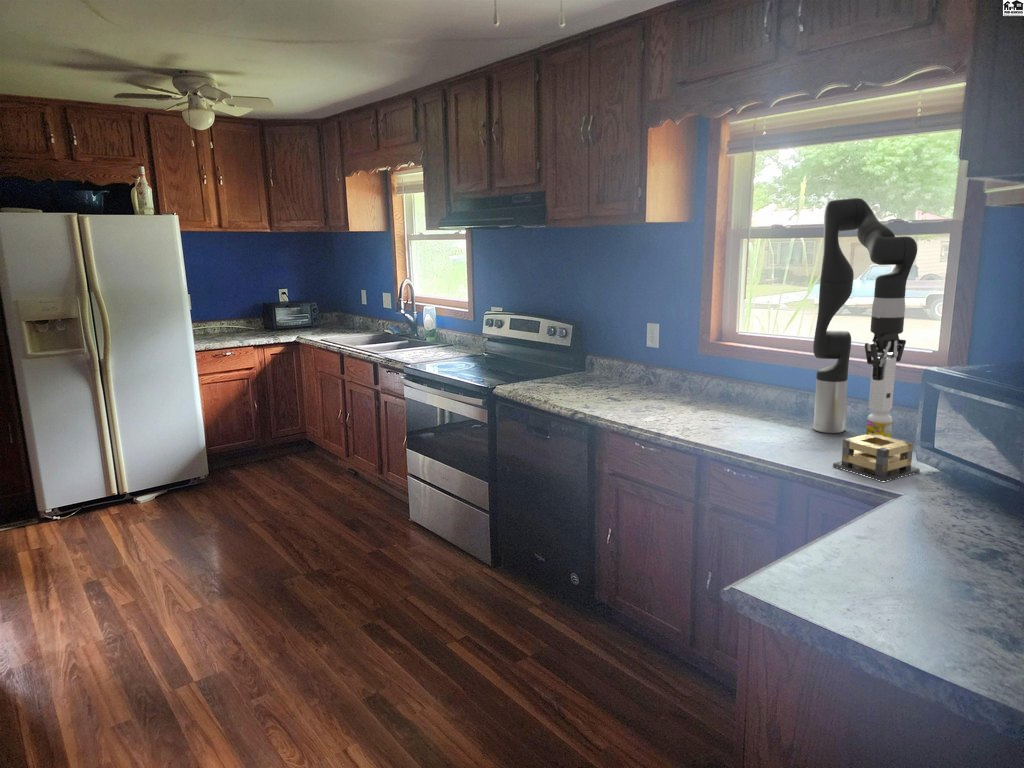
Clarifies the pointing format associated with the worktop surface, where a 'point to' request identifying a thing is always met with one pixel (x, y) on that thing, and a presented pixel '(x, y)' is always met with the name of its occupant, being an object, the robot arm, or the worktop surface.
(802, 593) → the worktop surface
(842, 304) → the robot arm
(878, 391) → the tall white block
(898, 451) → the collar stand
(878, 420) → the supplement bottle
